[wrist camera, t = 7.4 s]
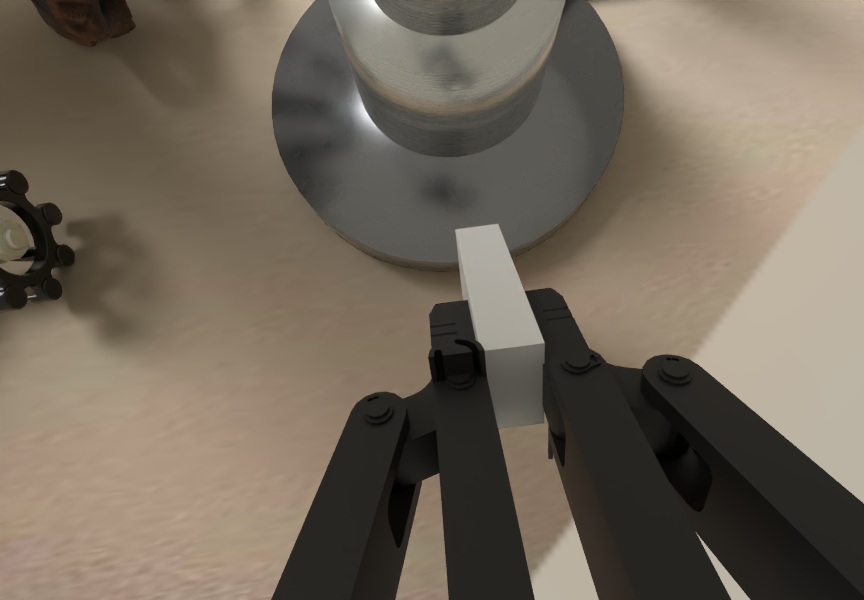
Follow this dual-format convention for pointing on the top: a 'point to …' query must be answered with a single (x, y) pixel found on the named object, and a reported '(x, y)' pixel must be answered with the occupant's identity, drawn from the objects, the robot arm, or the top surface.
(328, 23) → the grey metal flat disc
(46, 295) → the valve
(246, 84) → the top surface
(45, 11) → the brown irregular ringed piece
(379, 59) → the cover
